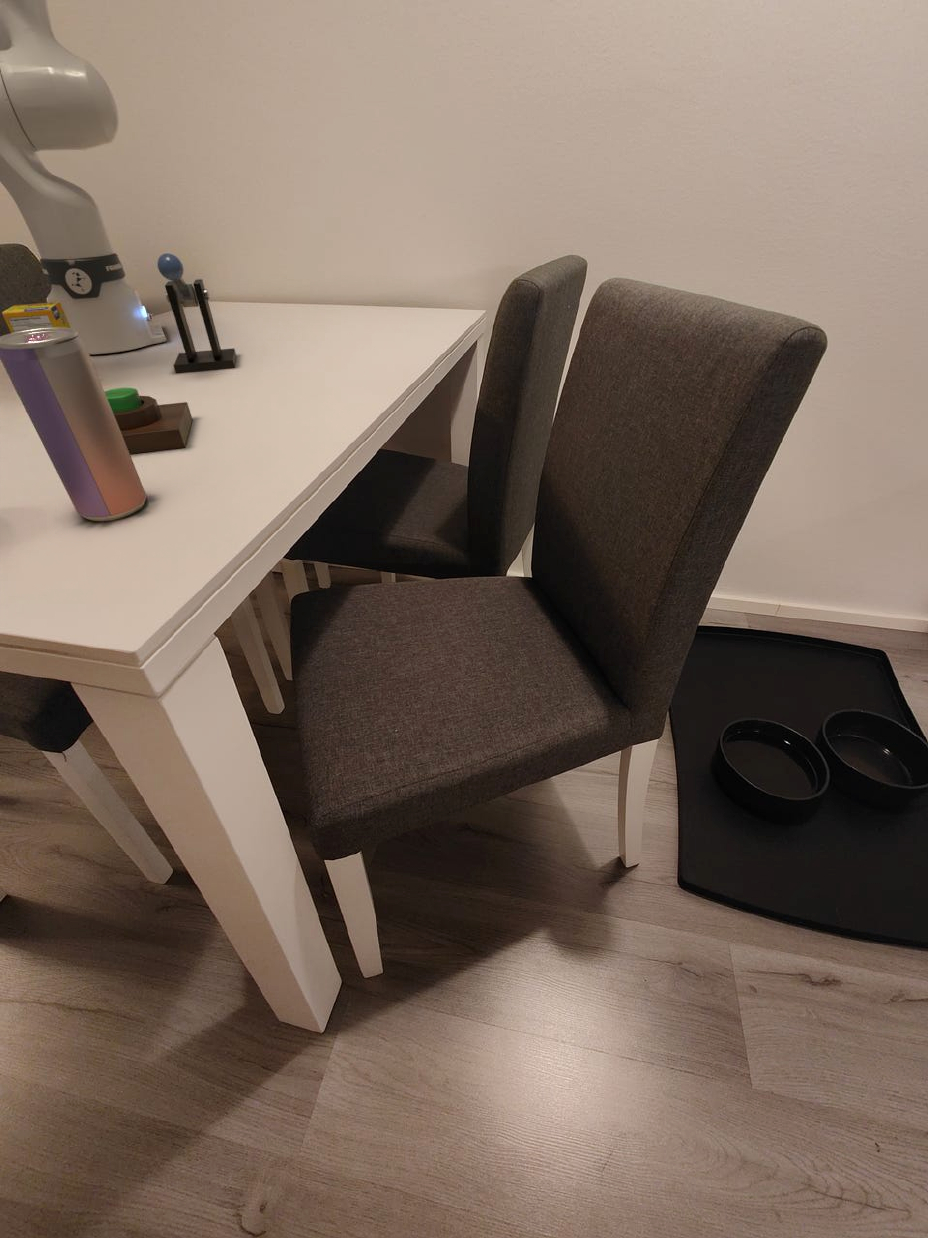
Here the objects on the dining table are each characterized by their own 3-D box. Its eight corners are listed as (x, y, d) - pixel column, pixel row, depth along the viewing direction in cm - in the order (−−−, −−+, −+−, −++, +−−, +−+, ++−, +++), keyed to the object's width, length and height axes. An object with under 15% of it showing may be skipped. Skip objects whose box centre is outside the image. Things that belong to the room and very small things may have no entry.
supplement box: (93, 380, 87) (60, 300, 81) (86, 391, 83) (50, 308, 76) (50, 385, 86) (13, 304, 79) (40, 396, 82) (0, 311, 75)
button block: (90, 430, 70) (76, 397, 68) (192, 419, 73) (182, 386, 70) (70, 461, 63) (53, 425, 60) (185, 447, 65) (173, 412, 63)
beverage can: (76, 529, 50) (-17, 347, 41) (82, 501, 55) (-1, 331, 45) (148, 515, 52) (75, 338, 43) (149, 489, 57) (82, 323, 47)
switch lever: (182, 274, 77) (177, 248, 76) (157, 275, 76) (151, 249, 76) (202, 309, 90) (198, 287, 89) (181, 310, 89) (176, 288, 88)
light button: (108, 404, 66) (102, 389, 65) (145, 401, 67) (139, 385, 66) (101, 415, 63) (95, 399, 62) (140, 411, 64) (134, 395, 63)
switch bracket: (234, 367, 92) (213, 283, 84) (175, 373, 90) (148, 288, 82) (236, 355, 98) (216, 276, 90) (181, 360, 96) (155, 280, 88)
